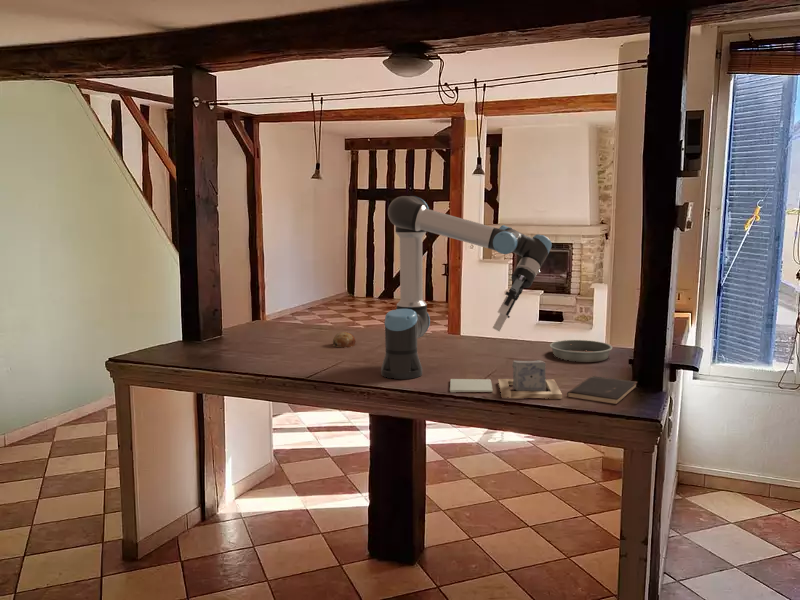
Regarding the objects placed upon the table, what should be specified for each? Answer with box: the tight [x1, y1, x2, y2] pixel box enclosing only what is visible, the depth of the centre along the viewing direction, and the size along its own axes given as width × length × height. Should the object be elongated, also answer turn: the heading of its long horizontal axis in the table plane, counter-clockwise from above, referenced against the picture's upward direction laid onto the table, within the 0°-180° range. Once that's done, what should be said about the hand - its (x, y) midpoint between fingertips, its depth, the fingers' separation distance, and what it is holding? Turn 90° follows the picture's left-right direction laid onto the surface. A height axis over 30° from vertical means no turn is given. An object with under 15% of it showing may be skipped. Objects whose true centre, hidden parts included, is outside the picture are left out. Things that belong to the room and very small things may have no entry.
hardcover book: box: [566, 375, 638, 405], centre depth 217 cm, size 16×23×2 cm
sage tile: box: [449, 378, 494, 393], centre depth 225 cm, size 14×14×1 cm
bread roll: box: [332, 331, 356, 349], centre depth 294 cm, size 10×10×8 cm
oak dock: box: [497, 378, 563, 400], centre depth 219 cm, size 19×18×2 cm
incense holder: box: [512, 359, 547, 392], centre depth 218 cm, size 10×8×10 cm
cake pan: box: [549, 339, 613, 363], centre depth 268 cm, size 25×25×4 cm
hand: (498, 321), depth 224 cm, fingers open, 13 cm apart
